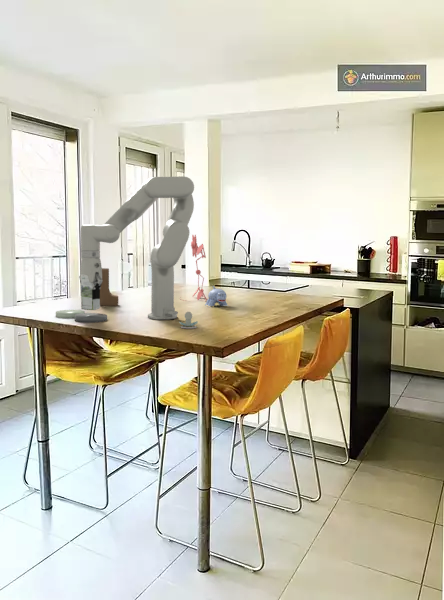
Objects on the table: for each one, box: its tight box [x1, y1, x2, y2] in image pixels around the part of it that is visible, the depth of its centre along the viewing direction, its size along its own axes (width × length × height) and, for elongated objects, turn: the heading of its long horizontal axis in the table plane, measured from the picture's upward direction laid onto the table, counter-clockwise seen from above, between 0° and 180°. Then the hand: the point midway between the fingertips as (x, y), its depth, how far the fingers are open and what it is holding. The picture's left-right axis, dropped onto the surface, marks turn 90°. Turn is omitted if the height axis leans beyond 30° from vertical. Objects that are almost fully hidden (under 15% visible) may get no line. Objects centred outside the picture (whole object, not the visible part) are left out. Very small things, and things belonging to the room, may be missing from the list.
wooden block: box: [100, 267, 119, 307], centre depth 258 cm, size 9×4×18 cm, turn 96°
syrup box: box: [80, 274, 101, 311], centre depth 218 cm, size 6×6×14 cm
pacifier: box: [178, 311, 198, 330], centre depth 207 cm, size 7×6×6 cm
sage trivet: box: [55, 309, 86, 319], centre depth 228 cm, size 12×12×2 cm
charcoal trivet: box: [74, 312, 108, 324], centre depth 219 cm, size 13×13×2 cm
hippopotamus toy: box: [204, 285, 229, 307], centre depth 264 cm, size 11×15×10 cm
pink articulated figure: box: [179, 234, 208, 302], centre depth 286 cm, size 15×26×35 cm, turn 12°
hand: (90, 297), depth 218 cm, fingers closed on syrup box, 7 cm apart
